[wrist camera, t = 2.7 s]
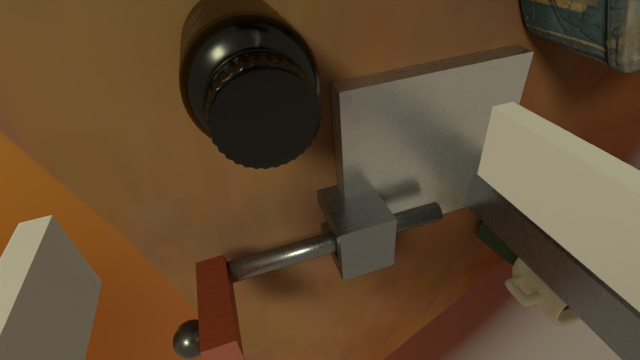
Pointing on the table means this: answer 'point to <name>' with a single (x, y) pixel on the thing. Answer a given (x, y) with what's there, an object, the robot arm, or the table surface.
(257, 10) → the supplement bottle
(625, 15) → the metal box
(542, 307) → the character mug
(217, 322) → the lever
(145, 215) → the table surface
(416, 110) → the press
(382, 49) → the table surface
